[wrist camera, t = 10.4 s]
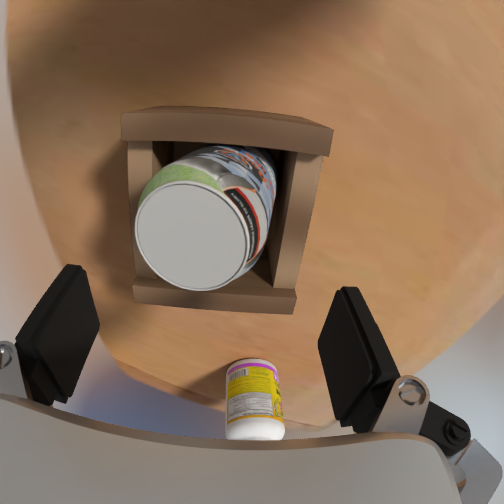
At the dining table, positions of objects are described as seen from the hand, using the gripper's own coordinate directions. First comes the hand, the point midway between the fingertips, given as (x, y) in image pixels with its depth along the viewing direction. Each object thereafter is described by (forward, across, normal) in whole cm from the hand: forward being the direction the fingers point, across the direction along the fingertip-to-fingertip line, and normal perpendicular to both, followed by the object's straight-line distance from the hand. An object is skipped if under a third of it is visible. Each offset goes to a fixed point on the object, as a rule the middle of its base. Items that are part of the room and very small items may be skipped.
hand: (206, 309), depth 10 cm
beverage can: (+14, 0, -1) cm, 14 cm away
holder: (+15, 0, 0) cm, 15 cm away
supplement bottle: (+15, -5, +24) cm, 29 cm away
